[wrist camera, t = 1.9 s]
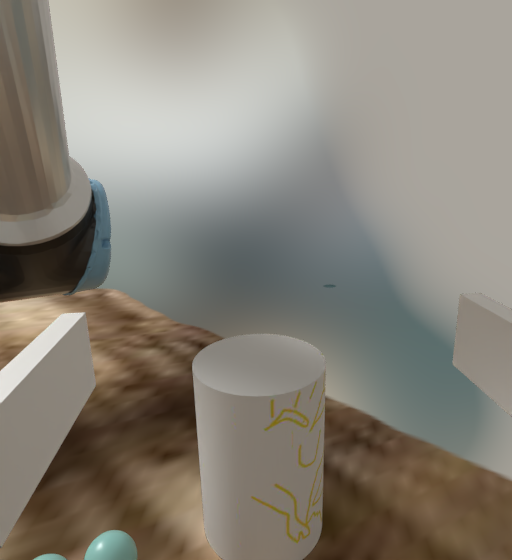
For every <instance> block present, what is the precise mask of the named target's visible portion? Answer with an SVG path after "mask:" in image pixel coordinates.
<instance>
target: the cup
mask: <svg viewBox="0 0 512 560" xmlns="http://www.w3.org/2000/svg"><path fill="white" fill-rule="evenodd" d="M192 370H193V383H194V397H195V410H196V423H197V437H198V450H199V463H200V477H201V490H202V503H203V517H204V529H205V534H206V537H207V540H208V542H209V544H210V546H211V547H212V549H213V550H214V551H215V553H216V554H217V555H218V556H219V557H221V558H222V559H223V560H302V559H304V558H305V557H306V556H307V555H308V554H309V553H310V552H311V551H312V550H313V548H314V547H315V545H316V544H317V542H318V540H319V537H320V534H321V530H322V508H323V465H324V421H325V377H326V376H325V375H326V374H325V373H326V361H325V358H324V356H323V354H322V353H321V352H320V351H319V350H318V349H317V348H316V347H314V346H312V345H311V344H309V343H307V342H305V341H302V340H300V339H296V338H293V337H288V336H283V335H275V334H248V335H240V336H235V337H230V338H226V339H223V340H220V341H217V342H215V343H213V344H211V345H209V346H207V347H206V348H204V349H203V350H201V351H200V352H199V353H198V354H197V355H196V357H195V358H194V360H193V364H192Z"/></svg>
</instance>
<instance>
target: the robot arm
mask: <svg viewBox="0 0 512 560" xmlns="http://www.w3.org/2000/svg"><path fill="white" fill-rule="evenodd" d="M110 237H111V225H110V214H109V206H108V201H107V197H106V193H105V190H104V188H103V186H102V184H101V183H100V182H98V181H97V180H91V179H89V178H88V177H87V175H86V173H85V171H84V169H83V168H82V167H81V166H80V165H79V163H77V162H76V161H75V160H74V159H73V158H71V157H70V156H69V153H68V145H67V137H66V130H65V122H64V114H63V107H62V99H61V93H60V85H59V77H58V70H57V62H56V54H55V47H54V39H53V32H52V24H51V16H50V9H49V2H48V0H0V302H7V301H15V300H22V299H30V298H37V297H45V296H53V295H61V294H63V295H72V294H75V293H76V292H80V291H85V290H90V289H95V288H97V287H99V286H100V285H102V283H104V281H105V279H106V278H107V275H108V272H109V267H110V259H111V244H110ZM456 327H457V328H456V336H455V345H454V354H453V355H454V356H453V365H454V366H455V367H456V368H457V369H459V370H460V371H461V372H462V373H463V374H464V375H465V376H466V377H468V378H469V379H470V380H471V381H472V382H473V383H474V384H476V386H478V387H479V388H480V389H481V390H482V391H483V392H484V393H486V394H487V395H488V396H489V397H490V398H491V399H492V400H493V401H495V403H497V404H498V405H499V406H500V407H501V408H502V409H503V410H504V411H506V412H507V413H508V414H509V415H510V416H511V417H512V309H511V308H509V307H507V306H505V305H503V304H501V303H499V302H497V301H495V300H493V299H491V298H489V297H487V296H485V295H483V294H482V293H471V294H460V299H459V308H458V317H457V326H456ZM95 386H96V382H95V375H94V368H93V361H92V355H91V348H90V341H89V334H88V327H87V320H86V314H85V313H67V314H61V315H60V316H59V317H58V318H57V319H56V320H55V321H54V322H53V323H52V324H51V325H50V326H48V327H47V328H46V329H45V330H44V331H43V332H42V333H41V334H40V335H39V336H38V337H37V338H36V339H34V340H33V341H32V342H31V343H30V344H29V345H28V346H27V347H26V348H25V349H24V350H23V351H22V352H20V353H19V354H18V355H17V356H16V357H15V358H14V359H13V360H12V361H11V362H10V363H9V364H8V365H6V366H5V367H4V368H3V369H2V370H1V371H0V548H2V546H3V544H4V542H5V541H6V539H7V537H8V536H9V534H10V532H11V530H12V529H13V527H14V525H15V524H16V522H17V520H18V518H19V517H20V515H21V513H22V511H23V510H24V508H25V506H26V505H27V503H28V501H29V499H30V498H31V496H32V494H33V493H34V491H35V489H36V487H37V486H38V484H39V482H40V481H41V479H42V477H43V475H44V474H45V472H46V470H47V469H48V467H49V465H50V463H51V462H52V460H53V458H54V456H55V455H56V453H57V451H58V450H59V448H60V446H61V444H62V443H63V441H64V439H65V438H66V436H67V434H68V432H69V431H70V429H71V427H72V426H73V424H74V422H75V420H76V419H77V417H78V415H79V414H80V412H81V410H82V408H83V407H84V405H85V403H86V402H87V400H88V398H89V396H90V395H91V393H92V391H93V389H94V388H95Z"/></svg>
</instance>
